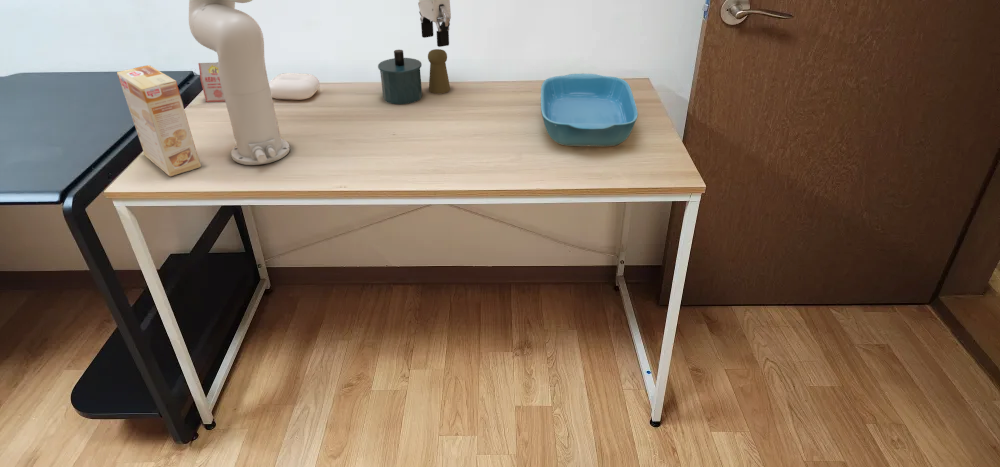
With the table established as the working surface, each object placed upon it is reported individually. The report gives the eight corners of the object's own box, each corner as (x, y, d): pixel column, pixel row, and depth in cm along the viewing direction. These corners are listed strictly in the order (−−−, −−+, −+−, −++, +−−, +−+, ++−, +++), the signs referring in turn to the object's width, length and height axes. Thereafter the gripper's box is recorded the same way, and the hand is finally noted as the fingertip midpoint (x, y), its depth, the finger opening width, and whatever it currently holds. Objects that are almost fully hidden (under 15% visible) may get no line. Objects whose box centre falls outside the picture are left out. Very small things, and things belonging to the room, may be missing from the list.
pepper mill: (424, 91, 177) (421, 51, 171) (436, 84, 182) (433, 45, 176) (443, 94, 175) (440, 55, 169) (454, 87, 180) (452, 48, 174)
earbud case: (279, 88, 180) (275, 69, 177) (324, 89, 179) (321, 70, 176) (264, 102, 172) (260, 82, 169) (311, 103, 171) (308, 83, 168)
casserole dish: (540, 96, 174) (541, 70, 170) (623, 97, 173) (626, 71, 169) (539, 156, 143) (540, 126, 139) (640, 158, 142) (644, 128, 138)
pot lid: (428, 71, 168) (427, 53, 165) (387, 78, 163) (385, 60, 161) (411, 59, 176) (410, 42, 174) (372, 66, 172) (370, 48, 169)
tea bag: (210, 96, 175) (200, 60, 170) (235, 96, 176) (226, 60, 170) (206, 102, 172) (196, 65, 167) (232, 101, 173) (223, 64, 167)
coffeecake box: (202, 167, 140) (177, 80, 129) (169, 177, 136) (140, 89, 125) (175, 146, 149) (150, 63, 138) (143, 155, 145) (114, 71, 134)
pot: (428, 99, 172) (426, 68, 168) (391, 107, 168) (388, 75, 163) (413, 87, 180) (410, 57, 175) (377, 94, 176) (374, 64, 171)
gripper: (460, -23, 157) (462, 47, 166) (431, -34, 170) (434, 31, 179) (432, -20, 154) (436, 51, 163) (404, -32, 166) (409, 35, 176)
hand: (435, 41), depth 171 cm, fingers open, 9 cm apart
